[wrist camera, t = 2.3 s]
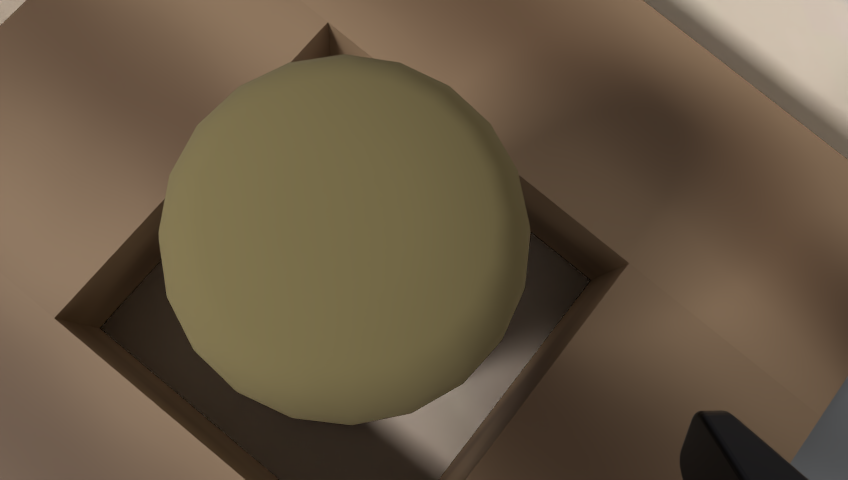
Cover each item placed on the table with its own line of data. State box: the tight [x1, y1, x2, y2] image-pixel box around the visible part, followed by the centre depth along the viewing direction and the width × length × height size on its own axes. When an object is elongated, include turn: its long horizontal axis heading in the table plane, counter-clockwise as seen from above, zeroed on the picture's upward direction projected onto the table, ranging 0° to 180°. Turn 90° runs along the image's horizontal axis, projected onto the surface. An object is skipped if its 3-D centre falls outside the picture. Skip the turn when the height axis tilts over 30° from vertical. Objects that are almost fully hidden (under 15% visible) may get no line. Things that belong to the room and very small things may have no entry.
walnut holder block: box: [0, 0, 848, 480], centre depth 19 cm, size 20×20×3 cm
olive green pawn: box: [159, 54, 530, 425], centre depth 15 cm, size 6×6×11 cm
